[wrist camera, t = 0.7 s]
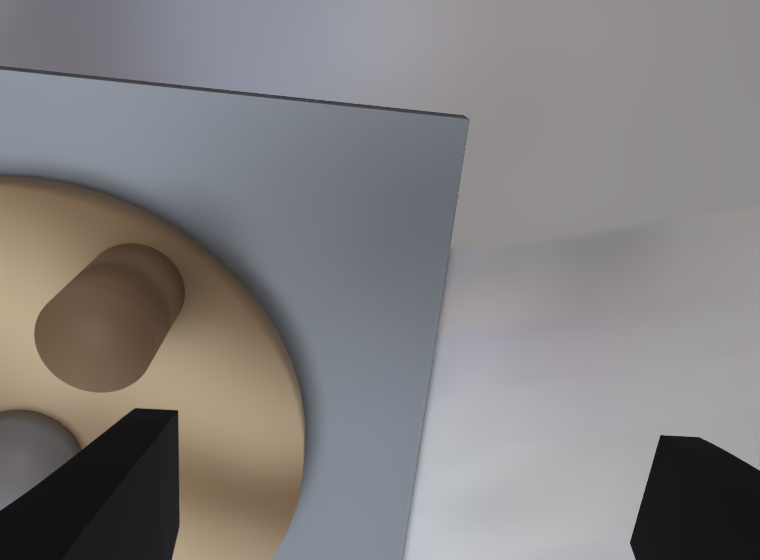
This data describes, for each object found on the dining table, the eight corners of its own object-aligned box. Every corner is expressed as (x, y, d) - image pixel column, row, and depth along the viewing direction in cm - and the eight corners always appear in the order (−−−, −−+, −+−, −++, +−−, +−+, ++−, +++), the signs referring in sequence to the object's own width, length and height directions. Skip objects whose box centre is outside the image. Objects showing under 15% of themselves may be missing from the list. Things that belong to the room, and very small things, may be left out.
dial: (289, 635, 23) (278, 763, 19) (-204, 618, 21) (-328, 753, 17) (324, 204, 17) (320, 255, 13) (-325, 144, 16) (-542, 181, 12)
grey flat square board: (382, 663, 25) (383, 691, 24) (-257, 644, 23) (-286, 673, 22) (463, 115, 18) (471, 120, 17) (-444, 19, 16) (-498, 18, 15)
